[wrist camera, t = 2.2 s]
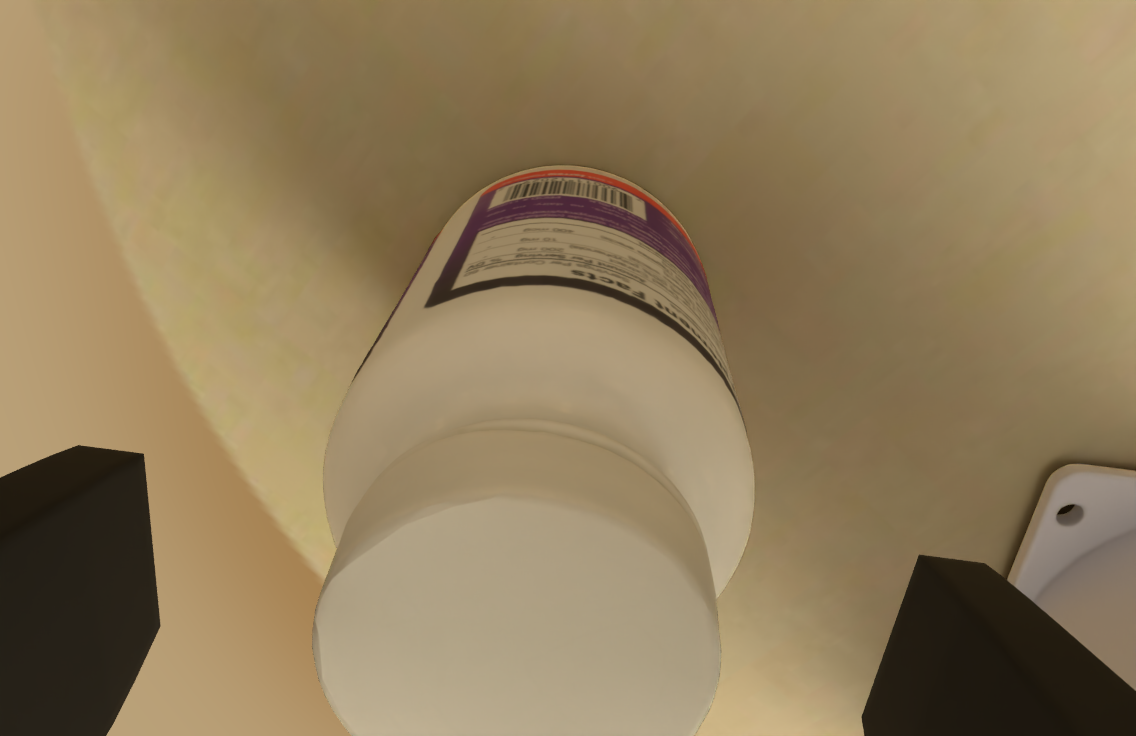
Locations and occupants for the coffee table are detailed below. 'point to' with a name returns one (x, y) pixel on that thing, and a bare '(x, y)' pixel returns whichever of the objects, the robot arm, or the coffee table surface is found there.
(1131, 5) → the coffee table surface
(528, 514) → the pill bottle
